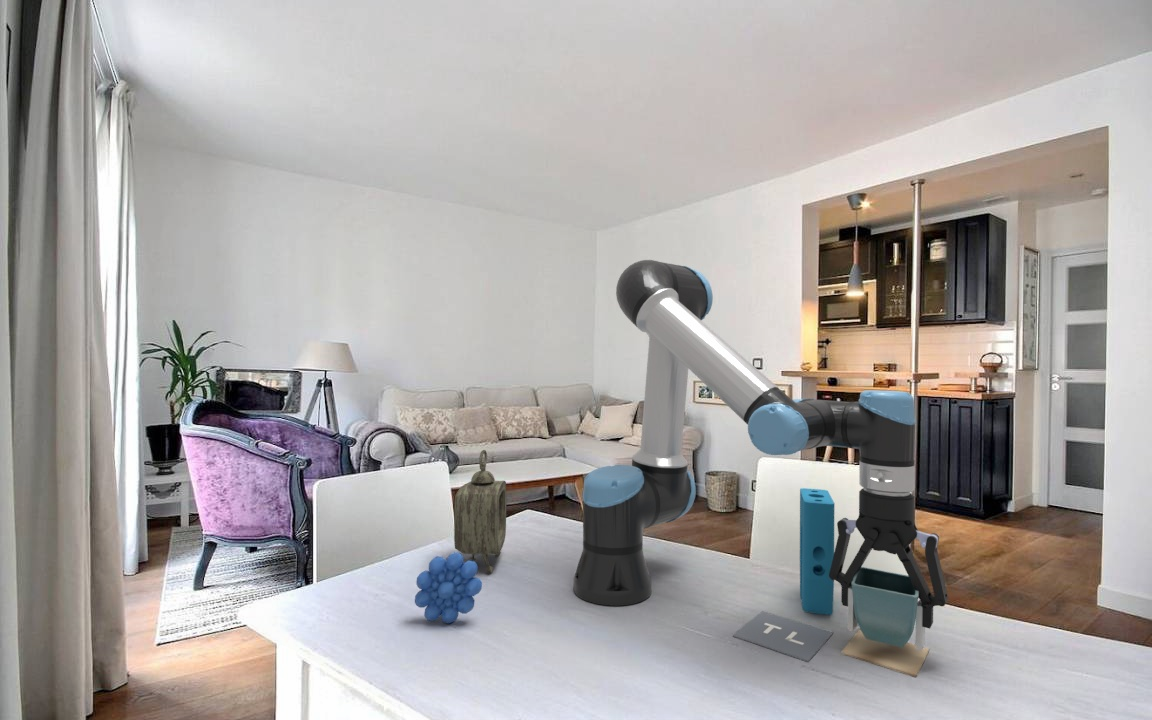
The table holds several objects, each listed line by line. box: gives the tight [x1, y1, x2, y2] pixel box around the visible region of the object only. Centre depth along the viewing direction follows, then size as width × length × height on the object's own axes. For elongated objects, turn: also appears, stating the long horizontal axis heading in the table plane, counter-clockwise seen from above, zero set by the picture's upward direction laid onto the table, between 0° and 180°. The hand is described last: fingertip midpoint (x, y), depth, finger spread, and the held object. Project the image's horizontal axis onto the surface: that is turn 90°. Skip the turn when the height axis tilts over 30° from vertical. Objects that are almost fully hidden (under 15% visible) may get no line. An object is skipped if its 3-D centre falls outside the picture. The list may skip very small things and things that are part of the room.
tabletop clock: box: [453, 449, 507, 574], centre depth 125 cm, size 14×9×25 cm, turn 179°
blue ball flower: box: [414, 552, 483, 624], centre depth 98 cm, size 12×7×12 cm, turn 85°
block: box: [799, 487, 835, 616], centre depth 105 cm, size 12×5×20 cm, turn 162°
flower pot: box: [852, 566, 919, 647], centre depth 88 cm, size 9×9×9 cm
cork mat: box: [841, 628, 930, 678], centre depth 88 cm, size 10×10×1 cm
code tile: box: [732, 610, 834, 663], centre depth 93 cm, size 12×12×1 cm
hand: (885, 636), depth 88 cm, fingers closed on flower pot, 9 cm apart
